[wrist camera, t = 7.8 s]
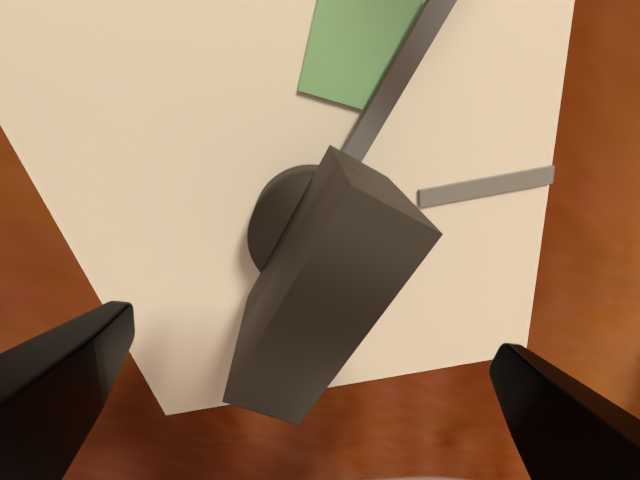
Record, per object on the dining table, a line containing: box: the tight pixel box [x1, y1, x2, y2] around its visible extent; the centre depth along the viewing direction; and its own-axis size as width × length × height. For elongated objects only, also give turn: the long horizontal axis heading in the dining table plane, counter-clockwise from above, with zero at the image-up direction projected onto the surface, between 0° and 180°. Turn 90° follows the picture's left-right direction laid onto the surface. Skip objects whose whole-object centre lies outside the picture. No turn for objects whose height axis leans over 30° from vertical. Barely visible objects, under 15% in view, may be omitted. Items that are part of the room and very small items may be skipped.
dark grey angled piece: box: [222, 0, 457, 425], centre depth 10 cm, size 13×5×7 cm, turn 151°
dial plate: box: [0, 0, 575, 415], centre depth 15 cm, size 22×22×1 cm
